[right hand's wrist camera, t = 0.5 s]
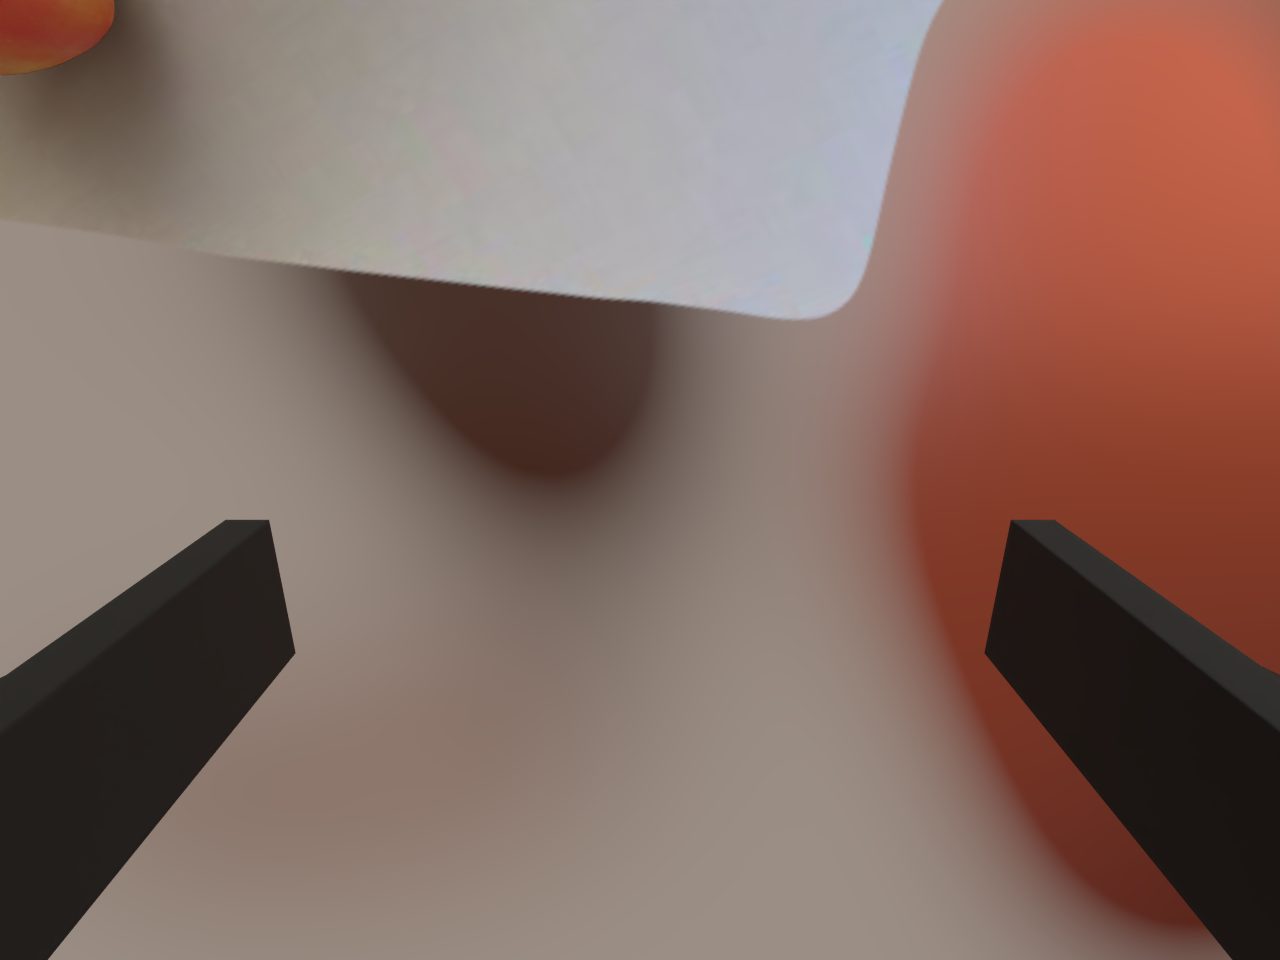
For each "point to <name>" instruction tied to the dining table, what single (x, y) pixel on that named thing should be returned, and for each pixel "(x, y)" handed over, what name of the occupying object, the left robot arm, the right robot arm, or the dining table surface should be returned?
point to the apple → (49, 31)
